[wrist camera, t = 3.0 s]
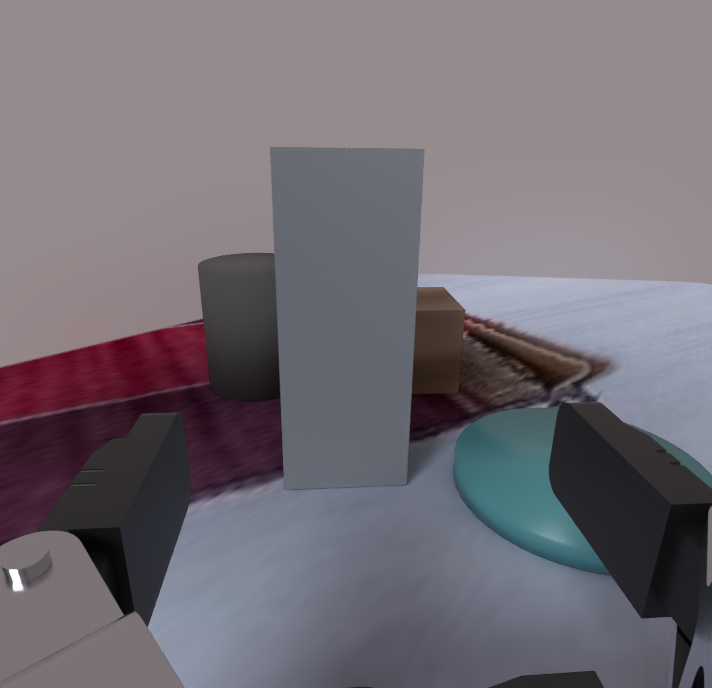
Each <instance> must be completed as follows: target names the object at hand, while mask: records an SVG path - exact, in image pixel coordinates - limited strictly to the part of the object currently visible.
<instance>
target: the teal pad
mask: <svg viewBox="0 0 712 688" xmlns="http://www.w3.org/2000/svg"><path fill="white" fill-rule="evenodd" d="M558 410H559V409H554V408H522V409H512V410H507V411H501V412H497V413H494V414H490V415H488V416H485V417H483V418H480V419H478V420H477V421H475V422H473V423H472V424H470V425H469V426H468V427H467V428H465V430H464V431H463V432H462V433H461V434H460V436H459V438H458V440H457V443H456V448H455V458H454V480H455V484H456V488H457V490H458V492H459V494H460V496H461V498H462V499H463V501H464V502H465V504H466V505H467V506H468V508H469V509H470V510H471V511H472V512H473V513H474V514H475V515H476V516H477V517H478V518H479V519H480V520H481V521H482V522H483V523H484V524H486V525H487V526H488V527H489V528H491V529H492V530H493V531H495V532H496V533H498V534H499V535H500V536H502V537H503V538H505V539H507V540H509V541H510V542H512V543H514V544H515V545H517V546H519V547H521V548H523V549H525V550H527V551H529V552H531V553H534V554H536V555H538V556H540V557H543V558H546V559H548V560H551V561H554V562H556V563H559V564H563V565H566V566H570V567H573V568H577V569H581V570H585V571H590V572H595V573H600V574H608V575H611V574H610V573H609V571H608V570H607V569H606V567H605V566H604V564H603V563H602V561H601V560H600V559H599V557H598V556H597V554H596V553H595V552H594V550H593V549H592V547H591V546H590V544H589V543H588V542H587V540H586V539H585V537H584V536H583V534H582V533H581V532H580V530H579V529H578V527H577V526H576V525H575V523H574V522H573V520H572V519H571V517H570V516H569V515H568V513H567V512H566V510H565V509H564V507H563V506H562V505H561V503H560V502H559V500H558V499H557V498H556V496H555V494H554V493H553V490H552V488H551V484H550V480H549V462H550V455H551V449H552V443H553V437H554V430H555V424H556V418H557V413H558ZM625 424H627V423H625ZM627 425H629V424H627ZM629 426H631V427H633V428H635V429H637V430H639V431H641V432H643V433H645V434H647V435H649V436H650V437H652V438H653V439H654V440H655V441H656V442H657V443H659V444H660V445H661V446H662V447H663V448H665V449H666V452H667V453H670V454H672V455H673V456H674V457H675V458H676V459H677V460H679V461H680V464H681V465H685V466H686V467H687V468H688V469H689V470H690V471H692V472H693V473H694V474H695V475H696V476H697V477H699V478H700V479H701V480H702V481H703V482H705V483H706V484H707V485H708V486H709V487H710V488H712V475H711V474H710V473H709V472H708V471H707V470H706V469H705V468H704V467H703V466H702V465H701V464H700V463H699V462H698V461H696V460H695V459H694V458H692V457H691V456H690V455H689V454H687V453H686V452H684V451H683V450H681V449H680V448H678V447H677V446H675V445H673V444H671V443H670V442H668V441H666V440H664V439H662V438H660V437H658V436H656V435H654V434H652V433H650V432H647V431H645V430H642V429H640V428H638V427H635V426H632V425H629Z"/></svg>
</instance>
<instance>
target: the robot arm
mask: <svg viewBox="0 0 712 688" xmlns="http://www.w3.org/2000/svg"><path fill="white" fill-rule="evenodd" d="M549 480H550V484H551V488H552V490H553V493H554V494H555V496H556V498H557V499H558V500H559V502H560V503H561V505H562V506H563V507H564V509H565V510H566V512H567V513H568V515H569V516H570V517H571V519H572V520H573V522H574V523H575V525H576V526H577V527H578V529H579V530H580V532H581V533H582V534H583V536H584V537H585V539H586V540H587V542H588V543H589V544H590V546H591V547H592V549H593V550H594V552H595V553H596V554H597V556H598V557H599V559H600V560H601V561H602V563H603V564H604V566H605V567H606V569H607V570H608V571H609V573H610V574H611V576H612V577H613V579H614V580H615V581H616V583H617V584H618V586H619V587H620V588H621V590H622V591H623V593H624V594H625V596H626V597H627V598H628V600H629V601H630V603H631V604H632V606H633V607H634V608H635V610H636V611H637V613H638V614H639V615H640V617H641V618H657V617H672V618H673V620H674V621H675V622H676V625H675V629H674V632H673V635H672V640H671V649H670V660H669V671H668V681H667V688H712V488H710V487H709V486H708V485H707V484H706V483H705V482H703V481H702V480H701V479H700V478H699V477H697V476H696V475H695V474H694V473H693V472H692V471H690V470H689V469H688V468H687V467H686V466H685V465H681V464H680V461H679V460H677V459H676V458H675V457H674V456H673V455H672V454H670V453H667V452H666V449H665V448H663V447H662V446H661V445H660V444H659V443H657V442H656V441H655V440H654V439H653V438H652V437H650V436H649V435H647V434H645V433H643V432H641V431H639V430H637V429H635V428H633V427H631V426H629V425H627V424H625V423H624V422H622V421H621V420H620V419H619V418H618V417H617V416H616V415H614V414H613V413H612V412H611V411H610V410H609V409H608V408H606V407H605V406H604V405H603V404H602V403H599V402H581V403H563V404H562V405H561V406H560V408H559V410H558V413H557V418H556V424H555V430H554V437H553V443H552V449H551V455H550V462H549ZM189 499H190V473H189V464H188V455H187V447H186V438H185V429H184V422H183V418H182V415H181V414H180V413H149V414H141V415H140V416H139V418H138V419H137V421H136V423H135V424H134V426H133V427H132V429H131V430H130V432H129V434H128V435H127V437H126V438H115V439H112V440H111V441H109V442H108V443H106V444H105V445H103V446H102V447H101V448H99V449H98V450H96V451H95V452H93V453H92V455H91V456H90V457H89V459H88V460H87V462H86V463H85V464H84V466H83V467H82V469H81V473H78V474H77V476H76V477H75V478H74V480H73V481H72V483H71V487H68V488H67V490H66V491H65V492H64V494H63V495H62V497H61V498H60V499H59V501H58V502H57V504H56V505H55V507H54V508H53V509H52V511H51V512H50V514H49V515H48V516H47V518H46V519H45V521H44V522H43V523H42V525H41V526H40V528H39V529H38V530H37V532H36V533H32V534H28V535H25V536H22V537H19V538H16V539H14V540H12V541H10V542H7V543H5V544H4V545H2V546H0V688H184V686H183V684H182V683H181V681H180V680H179V678H178V676H177V675H176V673H175V672H174V670H173V668H172V667H171V665H170V663H169V662H168V660H167V659H166V657H165V655H164V654H163V652H162V651H161V649H160V647H159V646H158V644H157V642H156V641H155V639H154V638H153V636H152V634H151V633H150V631H149V630H148V625H149V622H150V619H151V616H152V613H153V610H154V607H155V604H156V601H157V598H158V595H159V592H160V589H161V586H162V583H163V580H164V577H165V574H166V572H167V569H168V566H169V563H170V560H171V557H172V554H173V551H174V548H175V545H176V542H177V539H178V536H179V533H180V530H181V527H182V524H183V521H184V518H185V515H186V512H187V509H188V505H189ZM353 688H371V687H353ZM490 688H604V687H603V685H602V683H601V681H600V680H599V678H598V676H597V674H596V672H595V671H584V672H569V673H555V674H540V675H526V676H520V677H517V678H514V679H512V680H509V681H506V682H503V683H501V684H498V685H495V686H492V687H490Z"/></svg>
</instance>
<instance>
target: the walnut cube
mask: <svg viewBox="0 0 712 688" xmlns="http://www.w3.org/2000/svg"><path fill="white" fill-rule="evenodd" d="M464 319H465V309H464V308H463V307H462V306H461V305H460V304H459V303H458V302H457V301H456V300H455V299H454V298H453V297H452V296H451V295H450V294H449V293H448V291H447V290H446V289H445V288H444V287H417V299H416V318H415V337H414V356H413V375H412V394H437V393H458V388H459V376H460V365H461V353H462V342H463V330H464Z"/></svg>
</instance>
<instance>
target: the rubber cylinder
mask: <svg viewBox="0 0 712 688" xmlns="http://www.w3.org/2000/svg"><path fill="white" fill-rule="evenodd" d="M198 273H199V281H200V291H201V301H202V311H203V321H204V331H205V341H206V350H207V360H208V370H209V380H210V387H211V389H212V390H213V391H214V392H215V393H216V394H218V395H220V396H222V397H225V398H228V399H232V400H239V401H262V400H270V399H275V398H279V397H281V396H280V372H279V348H278V324H277V300H276V276H275V254H272V253H245V254H244V253H243V254H232V255H225V256H218V257H214V258H210V259H207V260H204V261H202V262H200V263H199V264H198Z"/></svg>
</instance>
